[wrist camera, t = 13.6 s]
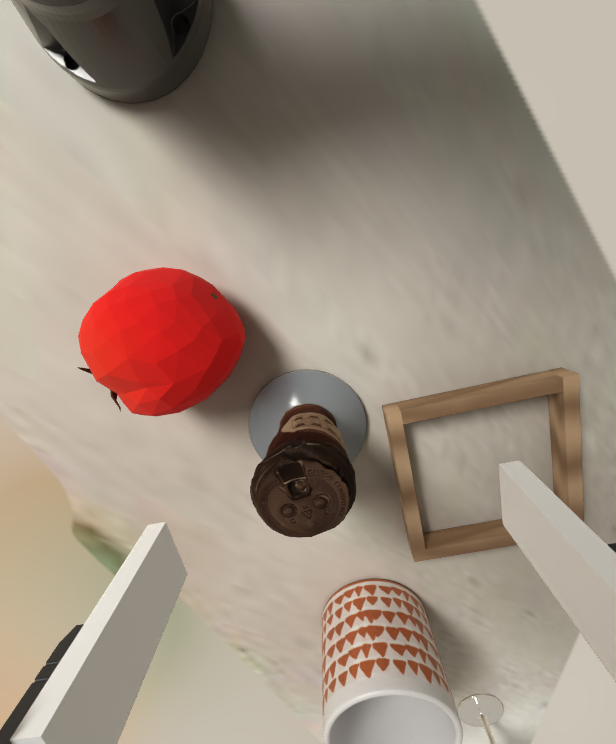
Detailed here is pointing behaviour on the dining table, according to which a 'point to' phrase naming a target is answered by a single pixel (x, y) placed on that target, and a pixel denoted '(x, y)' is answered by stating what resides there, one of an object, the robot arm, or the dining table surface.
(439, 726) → the planter
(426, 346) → the dining table surface
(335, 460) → the coffee cup
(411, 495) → the square wooden frame
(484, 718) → the wineglass
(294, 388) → the flat grey disc
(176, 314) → the tomato
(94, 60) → the robot arm
